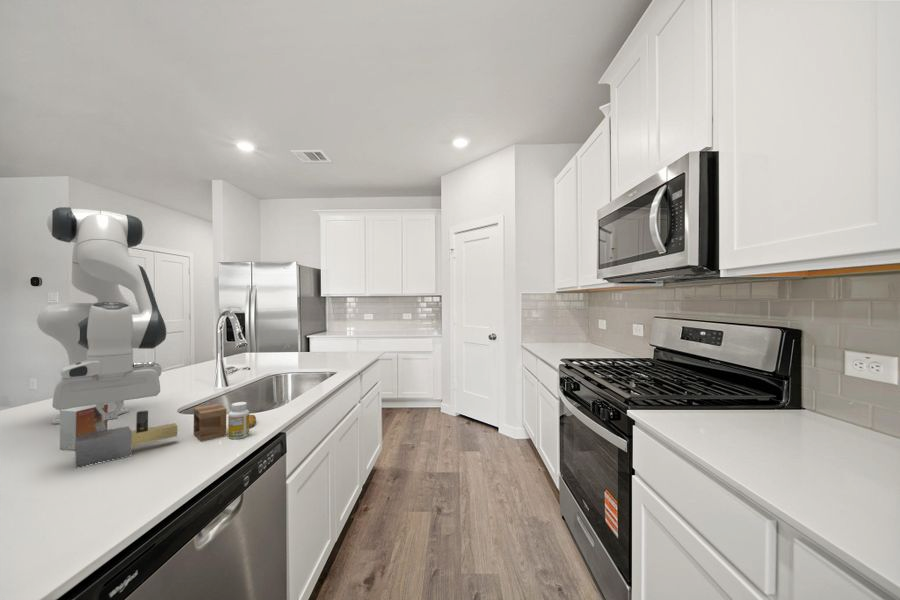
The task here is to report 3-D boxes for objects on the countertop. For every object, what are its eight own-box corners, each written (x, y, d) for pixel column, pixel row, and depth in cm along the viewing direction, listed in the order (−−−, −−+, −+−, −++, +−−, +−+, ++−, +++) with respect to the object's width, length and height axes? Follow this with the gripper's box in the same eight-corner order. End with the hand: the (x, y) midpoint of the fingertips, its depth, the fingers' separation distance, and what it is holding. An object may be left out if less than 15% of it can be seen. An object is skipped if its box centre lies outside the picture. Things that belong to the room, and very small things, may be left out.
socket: (193, 434, 111) (193, 407, 111) (218, 429, 116) (218, 403, 116) (200, 441, 106) (200, 413, 106) (226, 435, 111) (226, 408, 111)
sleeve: (75, 460, 93) (75, 435, 93) (128, 449, 100) (128, 426, 100) (76, 468, 88) (76, 441, 88) (131, 455, 96) (131, 431, 96)
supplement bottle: (241, 431, 114) (241, 400, 114) (253, 434, 112) (253, 402, 112) (224, 437, 109) (224, 404, 109) (236, 440, 107) (236, 406, 107)
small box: (74, 451, 98) (75, 411, 99) (58, 449, 100) (59, 410, 100) (108, 440, 106) (108, 403, 106) (92, 438, 107) (93, 402, 108)
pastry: (239, 421, 125) (239, 409, 125) (261, 420, 126) (261, 409, 126) (227, 430, 116) (228, 418, 116) (251, 429, 117) (251, 417, 117)
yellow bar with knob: (75, 453, 92) (76, 421, 92) (175, 433, 106) (175, 405, 106) (76, 457, 90) (76, 424, 90) (177, 436, 104) (177, 407, 104)
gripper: (159, 359, 105) (158, 409, 104) (53, 368, 90) (52, 426, 90) (163, 362, 100) (163, 413, 100) (52, 372, 85) (51, 432, 85)
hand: (109, 419), depth 95 cm, fingers closed
